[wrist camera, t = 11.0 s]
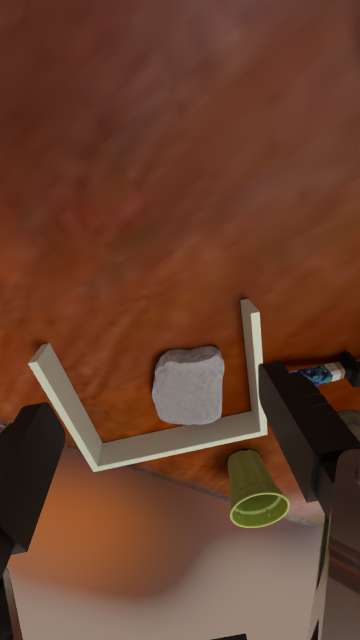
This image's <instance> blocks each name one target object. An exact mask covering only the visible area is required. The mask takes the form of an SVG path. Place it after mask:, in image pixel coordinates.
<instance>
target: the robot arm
mask: <svg viewBox="0 0 360 640" xmlns="http://www.w3.org/2000/svg"><path fill="white" fill-rule="evenodd" d="M258 390H259V399H260V403H261V407H262V409H263V411H264V414H265V416H266V418H267V420H268V422H269V424H270V426H271V428H272V430H273V432H274V435H275V437H276V439H277V441H278V443H279V445H280V447H281V449H282V451H283V454H284V456H285V458H286V460H287V462H288V464H289V466H290V468H291V470H292V473H293V475H294V477H295V479H296V481H297V483H298V485H299V487H300V489H301V492H302V494H303V496H304V498H305V500H306V502H313V501H319V503H320V505H321V507H322V509H323V511H324V513H325V516H324V523H323V531H322V539H321V547H320V555H319V563H318V571H317V578H316V586H315V593H314V601H313V605H312V612H311V618H310V624H309V632H308V640H360V442H359V440H358V439H357V438H356V436H355V435H354V434H353V433H352V431H351V430H350V429H349V428H348V426H347V425H346V424H345V423H344V421H343V420H342V419H341V417H340V416H339V415H338V414H337V412H336V411H335V410H334V409H333V407H332V406H331V405H330V404H328V401H327V400H326V399H325V397H324V396H323V395H322V394H321V393H320V391H319V390H318V388H317V387H316V386H315V385H314V383H313V382H312V381H311V380H310V379H308V378H307V377H305V376H304V375H302V374H301V373H299V372H292V373H289V372H288V370H287V369H286V367H285V366H284V364H283V363H282V362H281V361H280V360H277V361H272V362H266V363H261V364H259V366H258ZM64 444H65V431H64V428H63V426H62V425H61V423H60V421H59V419H58V418H57V416H56V414H55V412H54V411H53V409H52V407H51V406H50V404H49V403H47V402H44V403H38V404H33V405H27V406H24V407H23V408H22V409H21V410H20V412H19V414H18V415H17V417H16V419H15V420H14V422H13V423H10V424H9V425H8V426H7V427H6V428H5V429H4V430H3V431H2V432H1V433H0V640H23V638H22V633H21V629H20V623H19V619H18V613H17V608H16V603H15V598H14V593H13V589H12V583H11V578H10V573H9V570H8V569H7V568H6V566H7V563H8V560H9V558H10V556H11V555H13V554H18V553H23V552H27V551H28V548H29V545H30V542H31V539H32V536H33V534H34V531H35V528H36V525H37V522H38V519H39V516H40V513H41V511H42V508H43V505H44V502H45V499H46V496H47V493H48V490H49V488H50V484H51V482H52V479H53V476H54V473H55V470H56V467H57V465H58V461H59V459H60V456H61V453H62V450H63V447H64ZM212 640H247V638H246V634H240V635H235V636H229V637H223V638H219V639H212Z"/></svg>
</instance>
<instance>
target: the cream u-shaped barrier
mask: <svg viewBox="0 0 360 640" xmlns="http://www.w3.org/2000/svg"><path fill="white" fill-rule="evenodd" d="M240 303H241V313H242V322H243V332H244V342H245V352H246V361H247V371H248V381H249V391H250V400H251V410H252V411H249V412H245V413H240V414H235V415H231V416H226V417H221V418H219V419H218V420H215V421H214V422H212V423H208V424H201V425H198V424H191V425H185V426H180V427H175V428H171V429H166V430H162V431H157V432H152V433H148V434H143V435H138V436H134V437H129V438H125V439H120V440H115V441H111V442H106V443H102V441H101V439H100V437H99V435H98V434H97V432H96V430H95V428H94V426H93V424H92V422H91V420H90V418H89V417H88V415H87V413H86V411H85V409H84V407H83V405H82V403H81V401H80V400H79V398H78V396H77V394H76V392H75V390H74V388H73V386H72V384H71V383H70V381H69V379H68V377H67V375H66V373H65V371H64V369H63V367H62V366H61V364H60V362H59V360H58V358H57V356H56V354H55V352H54V350H53V349H52V347H51V345H50V343H47V344H43V345H41V347H40V348H39V349H38V351H37V352H36V353H35V355H34V356H33V357H32V359H31V360H30V361H29V363H28V364H29V366H30V368H31V369H32V371H33V372H34V374H35V376H36V377H37V379H38V381H39V382H40V384H41V386H42V387H43V389H44V391H45V392H46V394H47V396H48V397H49V399H50V401H51V402H52V404H53V406H54V407H55V409H56V411H57V412H58V414H59V416H60V417H61V419H62V420H63V422H64V424H65V425H66V427H67V429H68V430H69V432H70V434H71V435H72V437H73V439H74V440H75V442H76V444H77V445H78V447H79V449H80V450H81V452H82V454H83V455H84V457H85V459H86V460H87V462H88V464H89V465H90V467H91V468H92V470H93V472H96V471H100V470H105V469H110V468H115V467H119V466H124V465H129V464H133V463H138V462H143V461H147V460H152V459H157V458H161V457H166V456H171V455H175V454H180V453H184V452H189V451H194V450H198V449H203V448H208V447H212V446H217V445H222V444H226V443H231V442H236V441H240V440H245V439H250V438H254V437H259V436H264V435H268V434H267V419H266V416H265V414H264V411H263V409H262V407H261V403H260V399H259V390H258V366H259V364H261V363H263V358H262V342H261V327H260V312H259V311H258V310H257V308H256V307H255V306H254V305H253V304H252V303H251V301H250V300H249V299H244V300H240Z"/></svg>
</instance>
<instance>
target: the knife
mask: <svg viewBox="0 0 360 640" xmlns="http://www.w3.org/2000/svg"><path fill="white" fill-rule="evenodd" d="M292 372H299V373H301V374H302V375H304V376H305V377H307V378H308V379H310V380H311V381H312V382H313V383H314V385H315V386H318V385H321V384H325V383H328V382H332V381H335V380H339V379H342V378H347V379H348V381H349V382H350V384H351V385H352V387H359V386H360V361H359V362H357V361H356V359H355V358H354V357H353V356H352V355H351V354H350V352H344V353H343V357H342V360H341V361H340V362H335V363H330V364H325V365H320V366H315V367H310V368H305V369H300V370H295V371H290V372H289V373H292Z"/></svg>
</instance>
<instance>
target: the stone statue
mask: <svg viewBox="0 0 360 640" xmlns="http://www.w3.org/2000/svg"><path fill="white" fill-rule="evenodd" d="M337 414H338V415H339V416H340V417H341V419H342V420H343V421H344V423H345V424H346V425H347V426H348V428H349V429H350V430H351V431H352V433H353V434H354V435H355V436H356V438H357V439H358V440H359V442H360V412H358V411H354V410H346V411H341V412H338V413H337Z"/></svg>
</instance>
